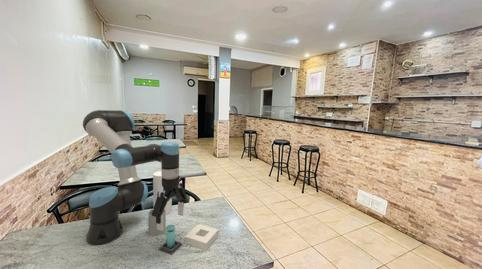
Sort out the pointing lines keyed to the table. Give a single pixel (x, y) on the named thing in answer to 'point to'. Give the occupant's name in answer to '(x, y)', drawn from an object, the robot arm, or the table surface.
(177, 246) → the grey square socket
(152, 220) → the mug
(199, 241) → the port
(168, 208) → the tall pillar cylinder
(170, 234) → the plug
